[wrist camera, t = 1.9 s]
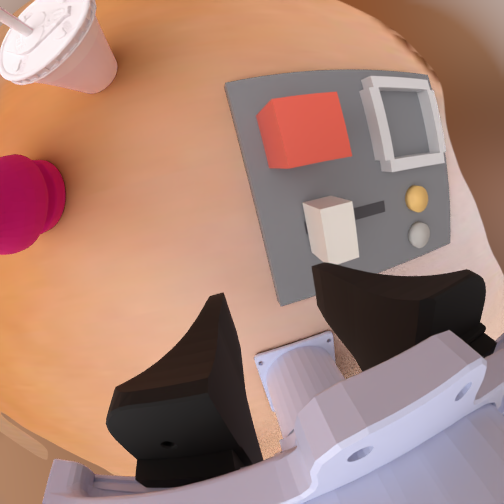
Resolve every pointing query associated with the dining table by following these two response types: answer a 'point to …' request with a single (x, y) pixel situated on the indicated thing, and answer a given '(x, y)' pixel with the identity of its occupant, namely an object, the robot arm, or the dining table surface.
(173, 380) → the robot arm
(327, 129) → the cap
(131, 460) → the dining table surface
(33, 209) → the pepper mill
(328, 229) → the block
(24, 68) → the smoothie
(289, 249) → the panel
